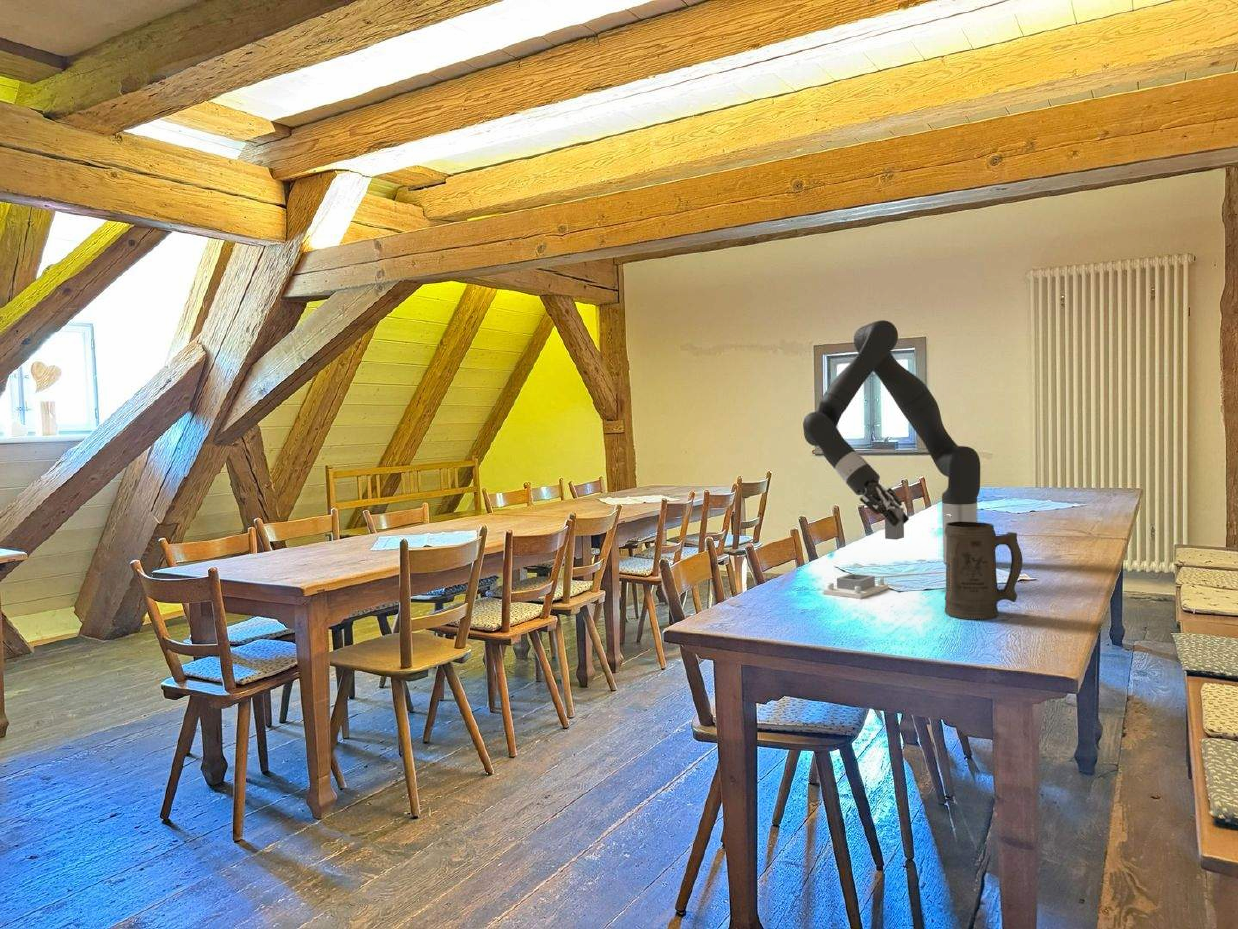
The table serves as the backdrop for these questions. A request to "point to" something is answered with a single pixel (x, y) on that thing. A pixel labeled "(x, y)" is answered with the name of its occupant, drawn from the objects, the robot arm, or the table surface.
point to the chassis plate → (856, 586)
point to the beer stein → (977, 570)
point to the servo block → (897, 530)
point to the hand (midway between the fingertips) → (901, 522)
